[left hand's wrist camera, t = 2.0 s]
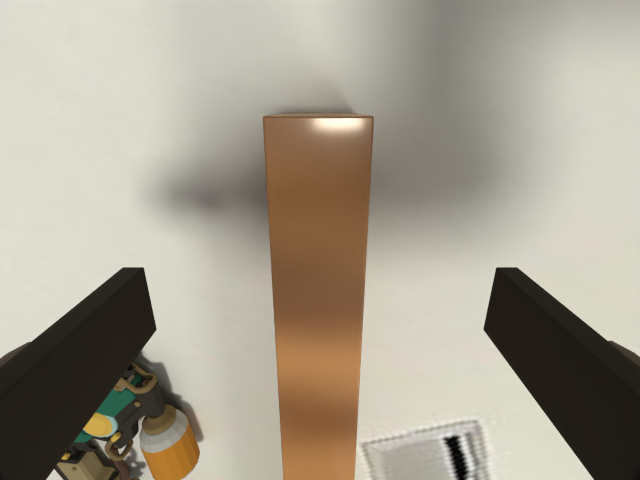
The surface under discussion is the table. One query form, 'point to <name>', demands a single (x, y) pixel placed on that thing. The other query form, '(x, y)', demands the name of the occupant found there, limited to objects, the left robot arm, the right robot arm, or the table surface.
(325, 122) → the post
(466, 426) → the table surface
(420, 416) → the table surface
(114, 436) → the spray gun
